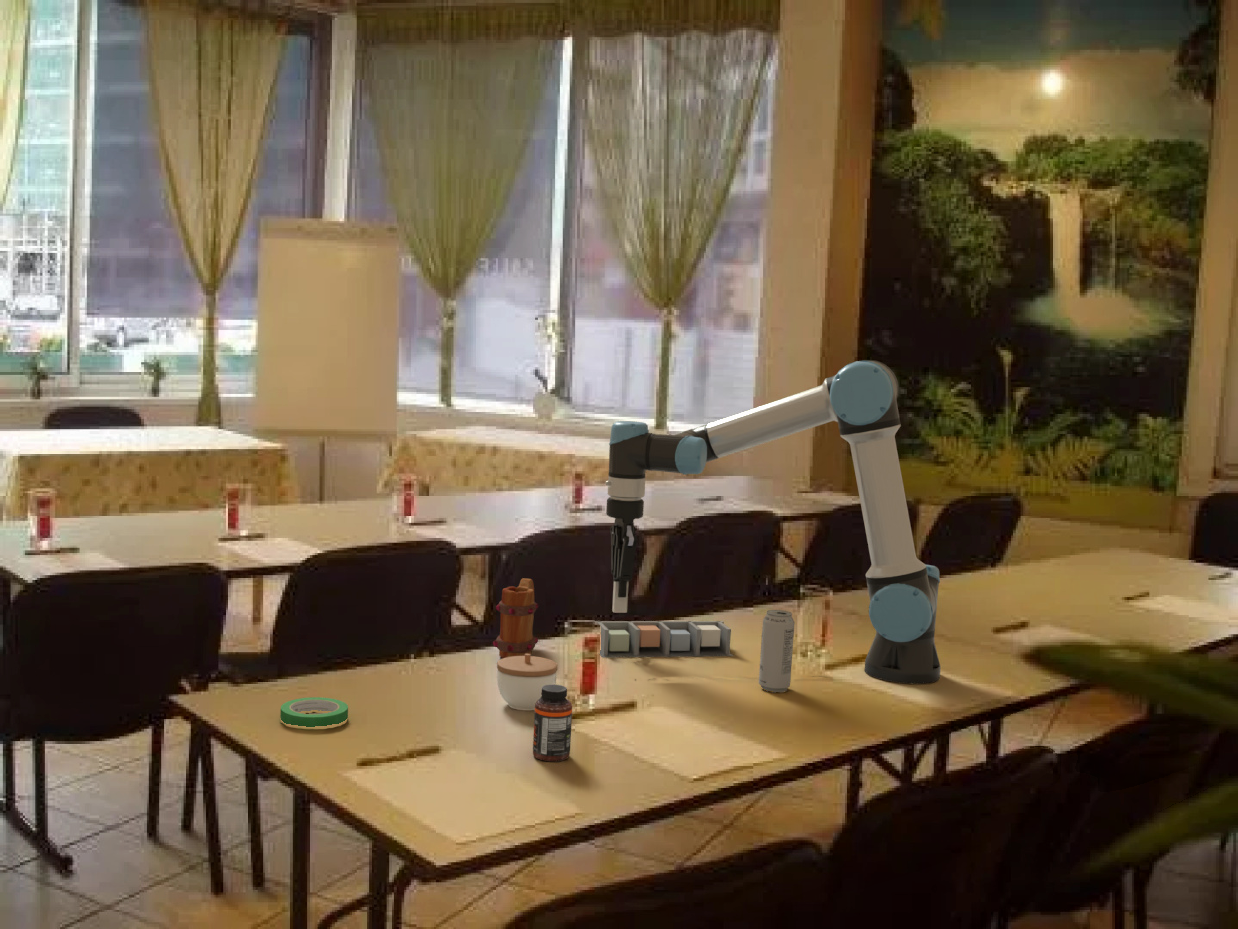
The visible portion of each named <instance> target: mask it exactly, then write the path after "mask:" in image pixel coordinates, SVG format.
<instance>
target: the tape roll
mask: <svg viewBox="0 0 1238 929" xmlns="http://www.w3.org/2000/svg"><path fill="white" fill-rule="evenodd" d="M311 710H318V711H320V710H321V711H331V712H328V713H309V714H304V713H299V712H301V711H311ZM279 717H280V718H281V720H282V721H283V722H284V723H286V724H291V725H298V726H306V727H315V726H327V725H332V724H339V723H341V722H343V721H345V720H346V719H347V718H348V719H349V705H348V704H347V703H346V702H345V701H342V700H339V699H335V698H331V697H320V696H319V697H318V696H317V697H313V696H311V697H310V696H309V697H302V698H300V697H299V698H296V699H291V700H289V701H286V702H284V703H283V704H282V705H281V706H280V716H279ZM280 718H279V719H280Z"/></svg>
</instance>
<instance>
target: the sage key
mask: <svg viewBox="0 0 1238 929" xmlns="http://www.w3.org/2000/svg"><path fill="white" fill-rule="evenodd" d="M629 636H630V634H629V633H628V632H627V631H626V630H609V636H608V650H609V651H629Z"/></svg>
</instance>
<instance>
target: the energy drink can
mask: <svg viewBox="0 0 1238 929" xmlns="http://www.w3.org/2000/svg"><path fill="white" fill-rule="evenodd" d="M792 615H793V613H792V612H791V611H788V610H785V609H784V610H782V609H769V610H766V614H765V616H764V618H763V619H762V627H761V628H762V630H761V642H760V644H761V645H760V655H759V656H760V657H759V658H760V661H759V673H758V675H759V676H758V684H759V685H760V688H761V687H762V688H763V689H765V690H767V691H766V692H768V691H773V692H772V693H776V692H780V693H785V692H787V691H788V688H790V686H791V681H792V680H791V678H792V664H793V648H794V637H795V636H794V635H795V620H794V618H793V616H792ZM765 690H764V691H765ZM784 691H785V692H784Z"/></svg>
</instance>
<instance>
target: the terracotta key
mask: <svg viewBox="0 0 1238 929" xmlns="http://www.w3.org/2000/svg"><path fill="white" fill-rule="evenodd" d="M637 628H639V629H640V637H639V646H640V647H659V646H660V629H659V628H658V627H656V626H655V625H651V626H637Z"/></svg>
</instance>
